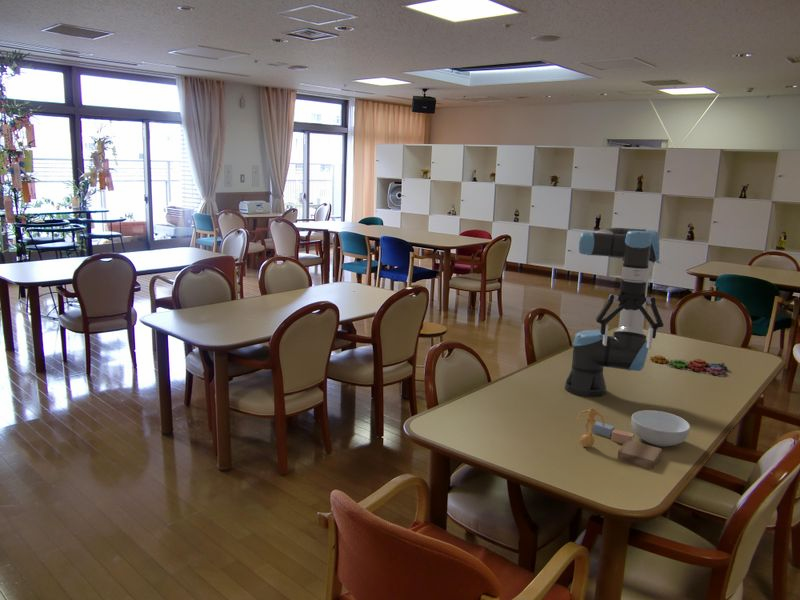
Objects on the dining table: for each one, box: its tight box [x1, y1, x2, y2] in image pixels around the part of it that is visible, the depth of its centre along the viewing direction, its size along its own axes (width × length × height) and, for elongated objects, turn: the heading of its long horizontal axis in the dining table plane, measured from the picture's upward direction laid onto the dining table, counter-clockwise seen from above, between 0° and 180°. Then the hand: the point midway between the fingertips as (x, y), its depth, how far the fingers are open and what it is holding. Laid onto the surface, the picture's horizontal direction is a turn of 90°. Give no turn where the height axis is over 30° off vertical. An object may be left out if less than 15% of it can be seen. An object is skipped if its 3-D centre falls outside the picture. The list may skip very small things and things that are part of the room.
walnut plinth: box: [617, 440, 663, 470], centre depth 185 cm, size 10×10×3 cm
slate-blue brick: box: [592, 420, 616, 439], centre depth 201 cm, size 6×3×3 cm, turn 48°
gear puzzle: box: [650, 354, 728, 378], centre depth 277 cm, size 31×16×4 cm, turn 58°
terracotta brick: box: [610, 428, 635, 445], centre depth 196 cm, size 6×3×3 cm, turn 59°
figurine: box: [576, 407, 605, 448], centre depth 191 cm, size 8×6×12 cm
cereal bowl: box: [630, 409, 691, 447], centre depth 196 cm, size 17×17×7 cm
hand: (626, 346), depth 201 cm, fingers open, 13 cm apart
